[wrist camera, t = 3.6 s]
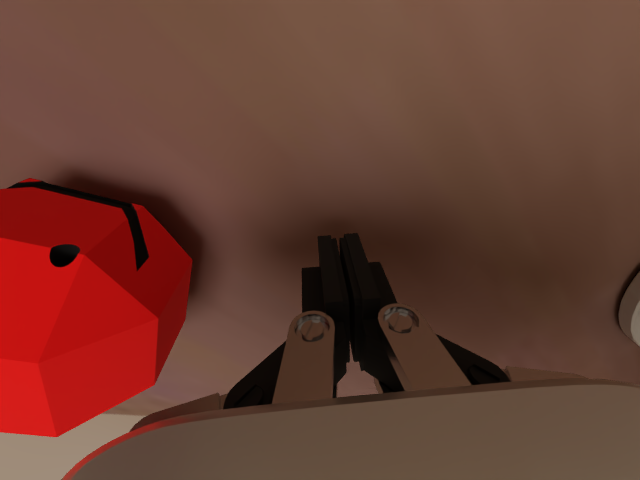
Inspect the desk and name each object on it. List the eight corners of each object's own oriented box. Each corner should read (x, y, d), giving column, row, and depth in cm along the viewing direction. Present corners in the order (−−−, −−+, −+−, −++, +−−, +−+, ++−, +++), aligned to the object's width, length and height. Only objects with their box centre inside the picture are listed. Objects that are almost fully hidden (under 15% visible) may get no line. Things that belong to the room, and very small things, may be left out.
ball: (211, 199, 13) (123, 323, 7) (194, 317, 17) (127, 470, 11) (13, 147, 12) (-354, 243, 5) (42, 290, 15) (-149, 451, 9)
